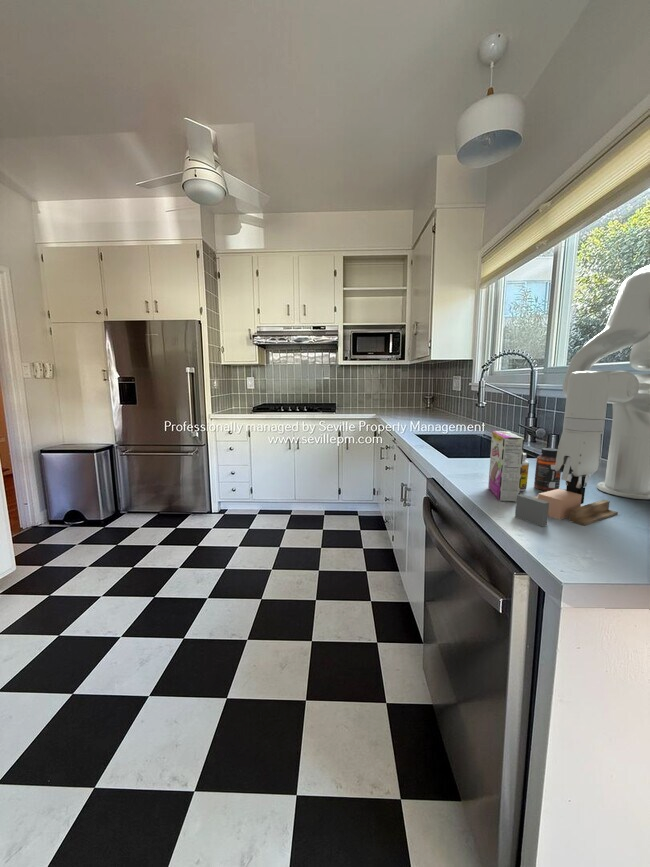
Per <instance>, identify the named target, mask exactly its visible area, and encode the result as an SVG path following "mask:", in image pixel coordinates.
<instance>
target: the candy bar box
mask: <svg viewBox="0 0 650 867" xmlns="http://www.w3.org/2000/svg"><path fill="white" fill-rule="evenodd" d="M490 442H491V443H490V455H489V456H490V457H489V459H490V460H489V473H488V487H487V488H488V489H489V490H490V491H491V493H492V494H493V495H494V496H495V497H496V499H497V500H498V501H499V502H507V503H509V502H510V503H516V499H517V495H520V494H521V491H520V485H521V472H522V460H523V453H524V445H525V444H524V443H525V438H524V437H522V436H520V435H517V434H516V433H514V432H511V431H507V430H506V431H505V430H493V431H491V441H490Z"/></svg>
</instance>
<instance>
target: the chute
mask: <svg viewBox="0 0 650 867" xmlns="http://www.w3.org/2000/svg"><path fill="white" fill-rule="evenodd" d="M564 490H565V491H566V489H564ZM532 497H533V498H536V499H538V495H537V496H536V495H535V496H532ZM616 515H618V511H615V510H612V509H610V500H607V499H601V500H598V501H595V502H591V503H588V504H584V505H581V507H577V508H574V509H571V510H570V514H569V517H568V522H572V523H575V524H578V525H581V526H588V525H590V524H594V523H596V522H599V521H602V520H604V519H607V518H610V517H613V516H616Z"/></svg>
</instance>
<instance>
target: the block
mask: <svg viewBox="0 0 650 867" xmlns="http://www.w3.org/2000/svg"><path fill="white" fill-rule="evenodd" d="M565 490H566V489H561V488H559V489H556V490H552V491H544V492H540V493H538V494H537V496H538V499H540V500H543V501H546V502H549V510H548V517H550V518H554V519H556V520H560V521H561V520H563V519H566V518H569V514H570V510H571V509H574V508H577V507H581V506H582V504H581V498H582V495H581V494H577V493H573V492H569V491H565Z"/></svg>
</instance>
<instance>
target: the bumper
mask: <svg viewBox="0 0 650 867" xmlns="http://www.w3.org/2000/svg"><path fill="white" fill-rule="evenodd" d="M533 497H534V496H529V495H526V494H523V493H520V495H517V499H516V502H515V510H514V511H515V512H514V518H517V519H520V520H524V521H526V522H528V523H531V524H534V525H536V526H539V527H542V528H543V527H546V526H548V517H549V516H548V510H549V502H546V501H543V500H540V499H536V498H533Z"/></svg>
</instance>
